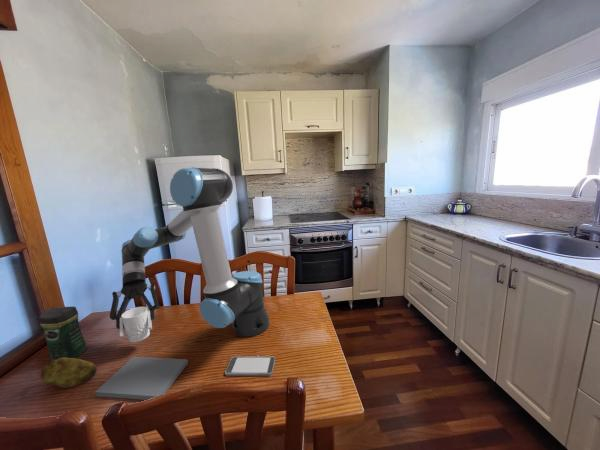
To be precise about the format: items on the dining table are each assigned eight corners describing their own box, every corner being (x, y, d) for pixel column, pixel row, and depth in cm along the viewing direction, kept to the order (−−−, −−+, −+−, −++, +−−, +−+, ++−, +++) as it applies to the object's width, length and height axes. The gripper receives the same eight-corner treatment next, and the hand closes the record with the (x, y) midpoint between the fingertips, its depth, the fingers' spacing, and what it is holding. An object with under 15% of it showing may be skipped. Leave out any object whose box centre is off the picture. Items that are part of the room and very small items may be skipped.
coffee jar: (91, 347, 92) (81, 302, 88) (71, 362, 84) (59, 314, 80) (67, 347, 92) (55, 303, 88) (45, 363, 84) (31, 315, 81)
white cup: (134, 331, 92) (129, 307, 91) (155, 329, 93) (151, 305, 91) (121, 345, 85) (115, 319, 83) (144, 342, 85) (139, 316, 83)
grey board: (187, 363, 81) (187, 359, 81) (159, 401, 67) (158, 396, 67) (134, 360, 84) (133, 356, 83) (96, 396, 70) (95, 391, 70)
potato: (75, 395, 70) (68, 372, 69) (38, 392, 72) (31, 369, 71) (101, 373, 78) (96, 351, 77) (68, 370, 80) (62, 349, 79)
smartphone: (231, 356, 82) (275, 356, 81) (232, 359, 82) (275, 359, 82) (224, 373, 75) (271, 373, 74) (224, 376, 75) (272, 376, 74)
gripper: (164, 273, 104) (170, 326, 93) (104, 285, 94) (103, 345, 83) (161, 265, 98) (168, 320, 87) (98, 277, 89) (96, 340, 78)
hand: (136, 332), depth 85 cm, fingers closed on white cup, 8 cm apart
